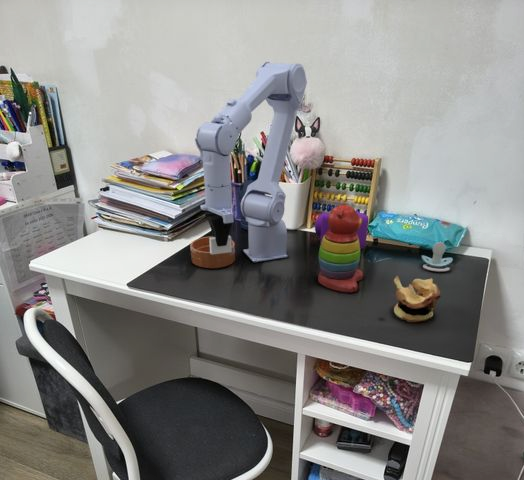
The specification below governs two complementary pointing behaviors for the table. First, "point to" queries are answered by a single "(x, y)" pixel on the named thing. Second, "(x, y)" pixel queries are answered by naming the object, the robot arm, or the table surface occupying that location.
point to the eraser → (221, 249)
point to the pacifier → (437, 259)
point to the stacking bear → (341, 251)
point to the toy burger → (416, 298)
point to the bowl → (204, 257)
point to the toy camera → (323, 227)
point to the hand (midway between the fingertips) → (220, 244)
